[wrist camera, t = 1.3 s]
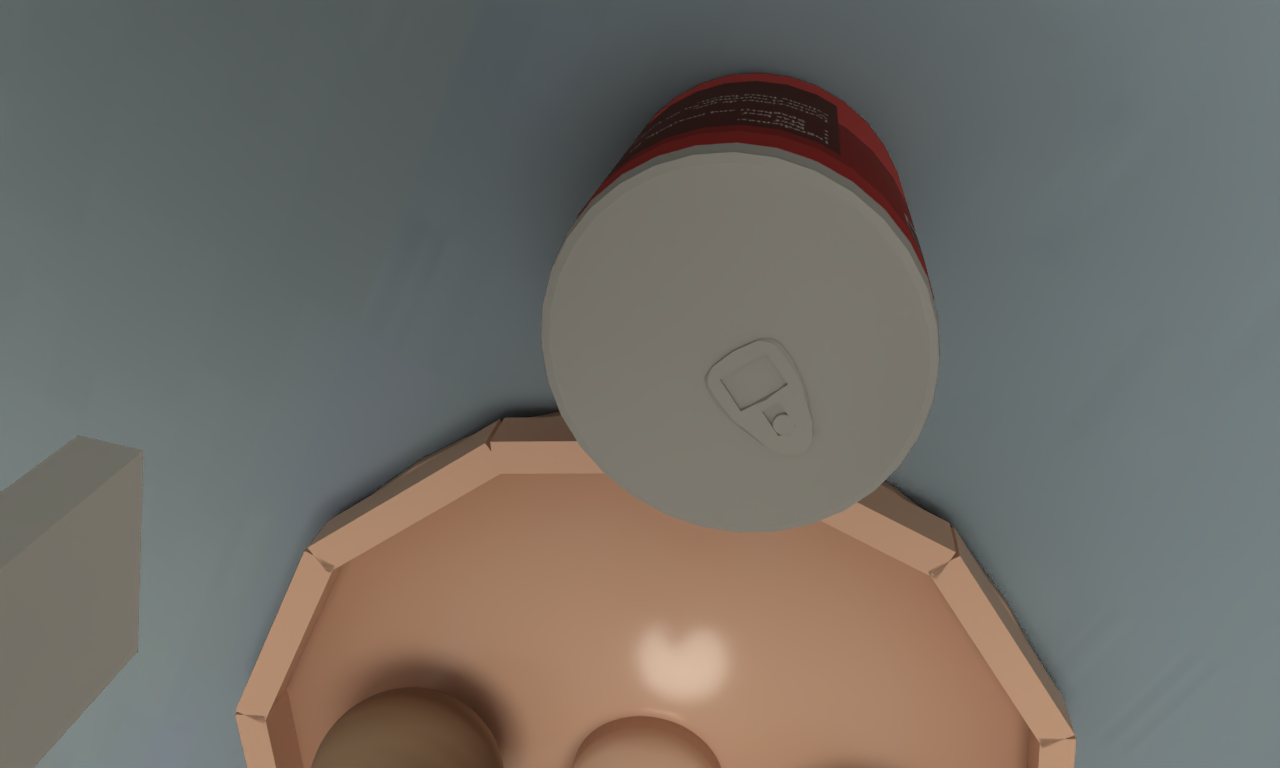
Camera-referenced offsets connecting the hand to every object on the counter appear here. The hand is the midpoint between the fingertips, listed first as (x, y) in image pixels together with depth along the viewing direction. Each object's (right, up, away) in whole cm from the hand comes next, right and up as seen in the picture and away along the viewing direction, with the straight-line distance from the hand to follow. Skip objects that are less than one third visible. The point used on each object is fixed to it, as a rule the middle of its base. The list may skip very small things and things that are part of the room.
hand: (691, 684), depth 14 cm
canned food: (+3, +8, +20) cm, 22 cm away
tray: (0, -9, +27) cm, 29 cm away
